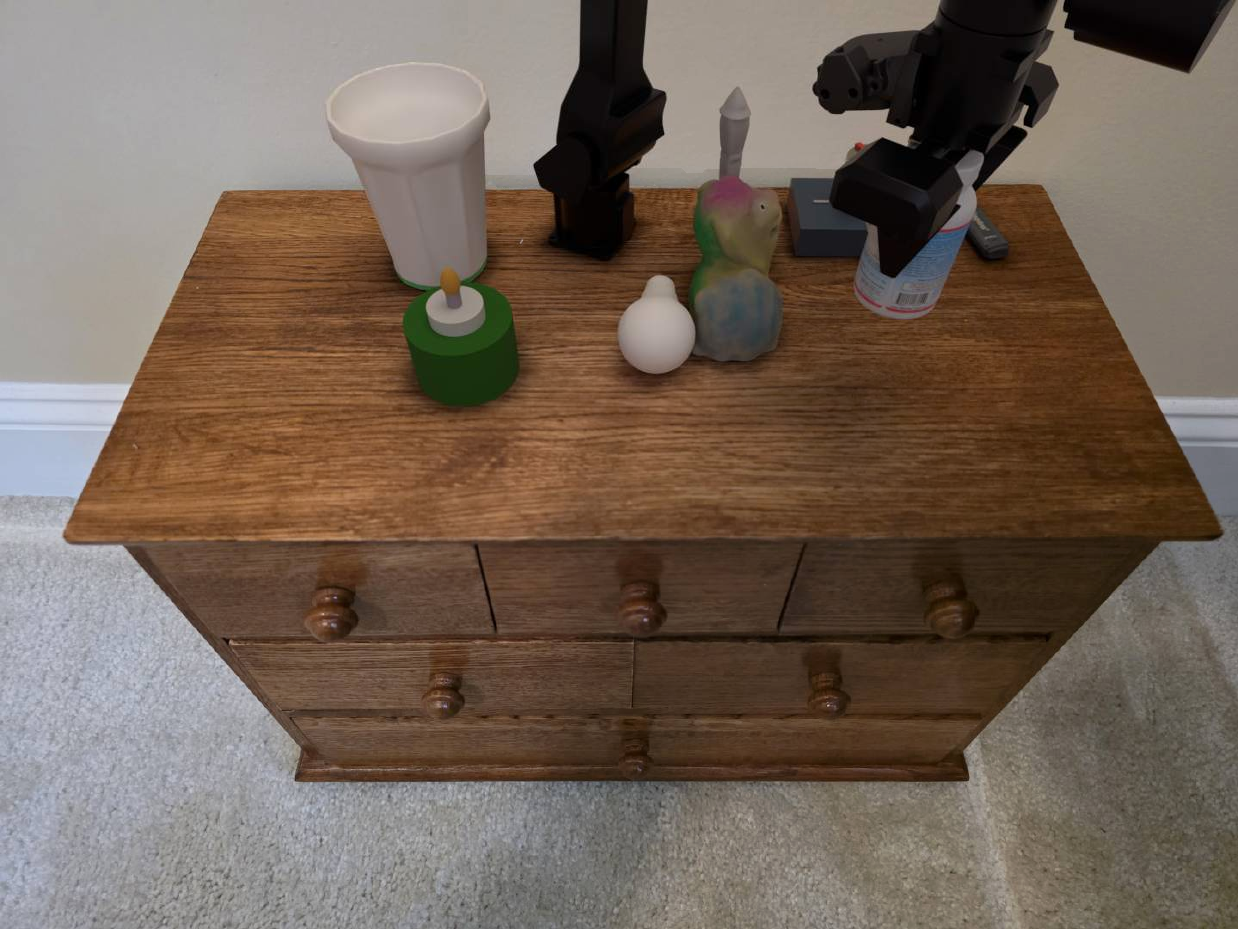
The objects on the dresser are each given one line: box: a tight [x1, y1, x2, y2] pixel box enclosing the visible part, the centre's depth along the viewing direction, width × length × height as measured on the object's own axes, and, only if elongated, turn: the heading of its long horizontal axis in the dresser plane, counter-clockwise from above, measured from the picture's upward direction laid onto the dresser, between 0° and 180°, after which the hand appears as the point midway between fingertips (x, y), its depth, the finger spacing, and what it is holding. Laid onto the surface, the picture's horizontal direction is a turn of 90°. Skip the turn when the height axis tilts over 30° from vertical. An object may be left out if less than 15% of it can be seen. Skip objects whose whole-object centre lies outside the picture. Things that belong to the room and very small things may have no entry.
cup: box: [324, 61, 491, 291], centre depth 68 cm, size 12×12×15 cm
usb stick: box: [966, 204, 1010, 260], centre depth 76 cm, size 10×3×2 cm, turn 11°
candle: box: [402, 268, 521, 407], centre depth 62 cm, size 8×8×10 cm
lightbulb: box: [617, 274, 695, 375], centre depth 65 cm, size 6×6×11 cm
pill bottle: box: [853, 142, 984, 320], centre depth 54 cm, size 6×6×11 cm
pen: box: [718, 85, 752, 180], centre depth 71 cm, size 2×3×14 cm
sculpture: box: [687, 174, 784, 363], centre depth 66 cm, size 15×8×10 cm, turn 3°
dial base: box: [785, 177, 871, 258], centre depth 75 cm, size 12×9×3 cm
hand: (910, 251), depth 56 cm, fingers closed on pill bottle, 6 cm apart
